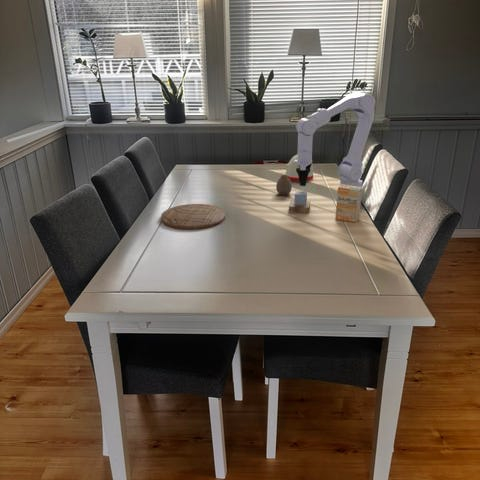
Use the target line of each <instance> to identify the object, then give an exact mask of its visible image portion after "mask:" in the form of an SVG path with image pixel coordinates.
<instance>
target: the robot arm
mask: <svg viewBox="0 0 480 480" xmlns="http://www.w3.org/2000/svg"><path fill="white" fill-rule="evenodd" d="M375 105H376V99H375V98H374V96H373V95H372V94H371V93H368V92H367V93H365V92H359V91H353V92H351V93H349V94H346V96H345V97H344V98H342V99H340V100H339V101H337V102H336V103H334V104H333V105H331V106H330V107H328V108H327V109H326V108H318V109H317V111H315V112H314V113H311V114H308V115H307V116H306V118H303V117H302V118H300V119H299V120H298V121H297V122H296V125H295V130H296V131H297V133H298V134H297V154H298V155H297V154H296V155H297V160H295V161H294V163H298V165H299V168H296V172H297V174H298V176H299V181H298V183H299V186H300V187H306V185H307V182H308V180H307V178H308V174H309V172H310V170H311V169H310V167H311V165H312V166H313V158H312V157H313V137H314V134H315V133H316V130H317V129H319V128H320V127H323V126H324V125H326V124H327V123H329V122H330V121H331V118H332V117H334V116H336V115H338V114H340V113H342V112H344V111H346V110H347V109H352V110H354V111H355V112H356V114H357V116H358V117H359V119H358V122H357V124H356V128H355V131H354V134H353V138H352V140H351V144H350V146H349V147H350V148H349V149H348V153H347V155H346V156H344V157H343V158H342V162H341V163H340V164H339V165H338V169H337V172H338V174H339V177H340V180H339V181H340V182H339V186H340V185H341V184H344V185H351V186H357V187H362V188H363V180H362V179H361V177H362V175H363V166H364V164H363V162H362V155H363V152H364V150H365V147H366V143H367V140H368V137H369V134H370V132H371V128H372V125H373V122H374V120H375V119H374V118H375ZM361 198H363V194H362V195H361Z"/></svg>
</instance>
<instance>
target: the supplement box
mask: <svg viewBox="0 0 480 480" xmlns="http://www.w3.org/2000/svg"><path fill="white" fill-rule="evenodd" d="M336 194H337V197H336V207H335V208H336V210H335V216H334V217H335V218H334V219H335V220H337V221H344V222H352V223H357V222H358V220H359V218H360V211H361V203H362V197H361V195H362V196H363V186H362V187H357V186H351V185H344V184H341V185H340V184H339V186H338V187H337V193H336Z"/></svg>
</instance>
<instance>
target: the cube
mask: <svg viewBox="0 0 480 480" xmlns="http://www.w3.org/2000/svg"><path fill="white" fill-rule="evenodd" d="M307 199H308V191H307V190H306V191H304V190H303V191H302V190H296V191H295V193H294V200H295V201H294V205H305V206H306V203H307V201H308V200H307Z"/></svg>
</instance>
